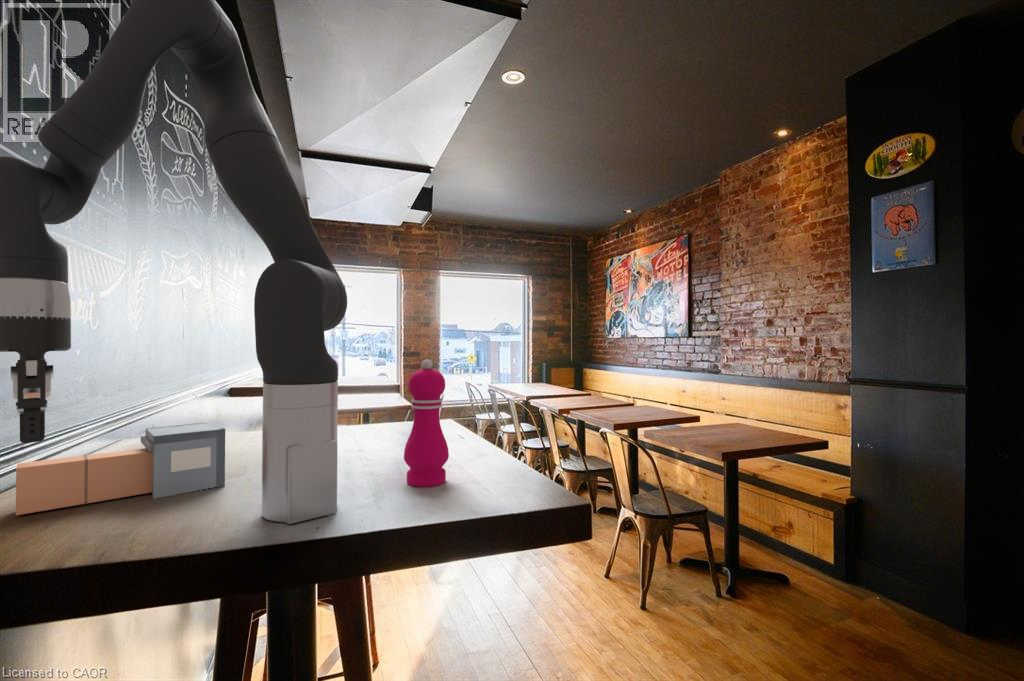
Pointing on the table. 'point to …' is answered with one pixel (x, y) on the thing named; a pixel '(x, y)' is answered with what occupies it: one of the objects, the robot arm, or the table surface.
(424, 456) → the pepper mill
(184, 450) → the block
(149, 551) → the table surface
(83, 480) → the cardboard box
